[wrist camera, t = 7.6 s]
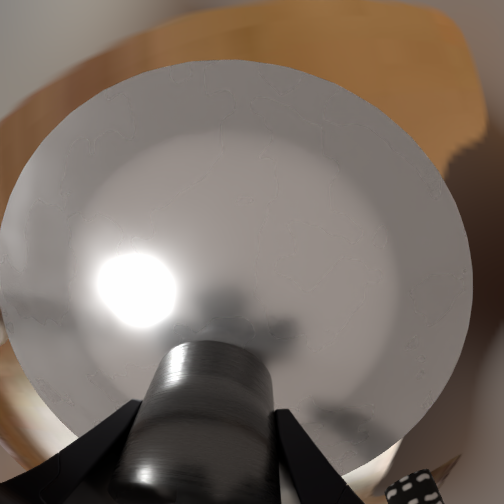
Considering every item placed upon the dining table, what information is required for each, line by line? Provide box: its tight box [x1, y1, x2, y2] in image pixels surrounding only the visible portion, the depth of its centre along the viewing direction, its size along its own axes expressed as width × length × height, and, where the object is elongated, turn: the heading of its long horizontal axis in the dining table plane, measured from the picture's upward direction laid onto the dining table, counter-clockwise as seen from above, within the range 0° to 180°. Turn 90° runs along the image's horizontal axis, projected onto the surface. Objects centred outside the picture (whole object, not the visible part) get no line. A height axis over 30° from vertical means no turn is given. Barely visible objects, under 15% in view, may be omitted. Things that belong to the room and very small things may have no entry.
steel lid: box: [0, 60, 473, 504], centre depth 7 cm, size 20×20×6 cm
